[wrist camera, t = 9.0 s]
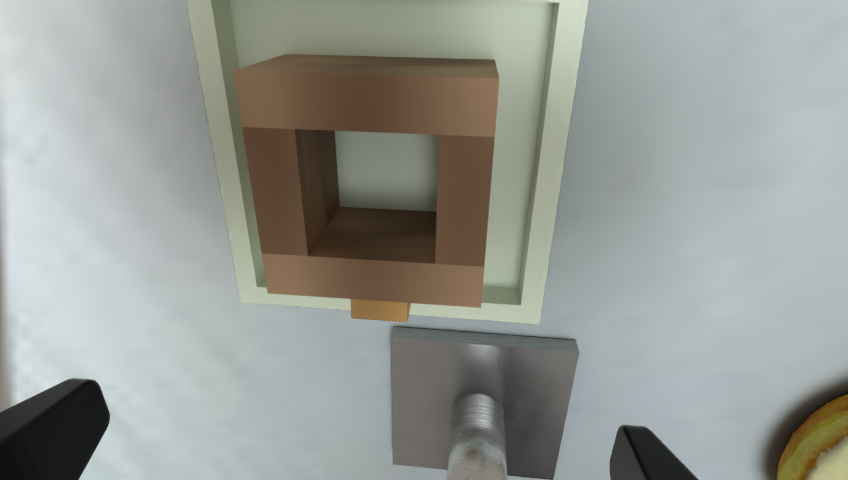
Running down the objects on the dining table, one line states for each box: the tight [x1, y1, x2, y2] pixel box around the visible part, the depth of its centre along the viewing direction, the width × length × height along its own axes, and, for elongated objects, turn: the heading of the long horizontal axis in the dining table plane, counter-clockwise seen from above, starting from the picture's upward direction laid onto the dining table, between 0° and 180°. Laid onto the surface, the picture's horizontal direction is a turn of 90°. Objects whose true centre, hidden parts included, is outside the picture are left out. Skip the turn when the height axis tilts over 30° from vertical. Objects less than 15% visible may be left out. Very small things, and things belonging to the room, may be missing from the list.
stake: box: [391, 327, 579, 480], centre depth 21 cm, size 8×8×6 cm
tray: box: [186, 0, 589, 324], centre depth 18 cm, size 12×12×2 cm
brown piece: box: [234, 54, 499, 322], centre depth 16 cm, size 7×8×4 cm
